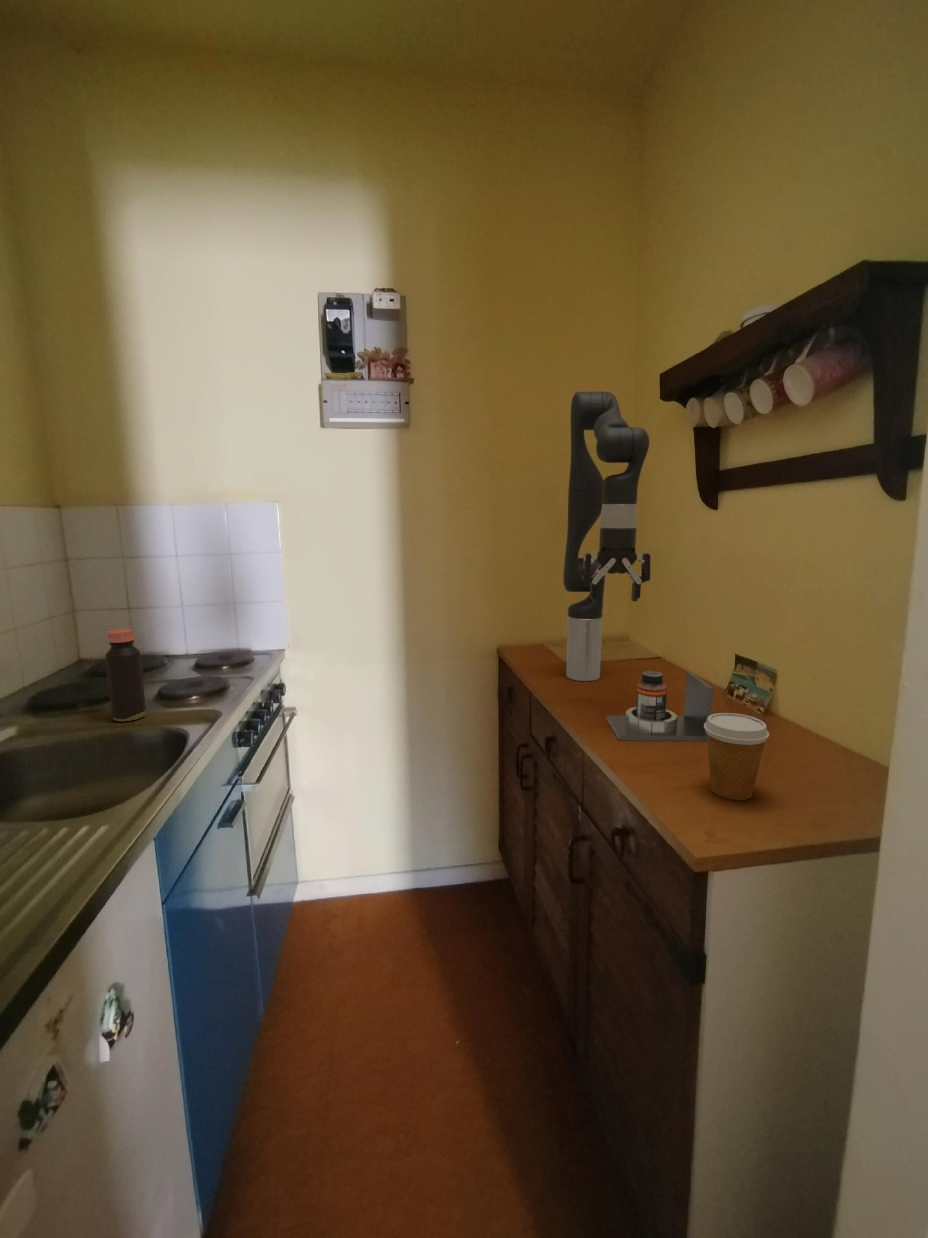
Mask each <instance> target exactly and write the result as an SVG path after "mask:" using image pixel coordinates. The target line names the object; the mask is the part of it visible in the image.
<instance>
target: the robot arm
mask: <svg viewBox="0 0 928 1238" xmlns="http://www.w3.org/2000/svg"><path fill="white" fill-rule="evenodd" d="M570 403H571V404H570V464H569V465H570V468H569V479H568V480H569V481H568V493H567V494H568V495H567V496H568V497H567V498H568V499H567V533H566V534H567V535H566V544H565V556H564V564H563V580H562V581H563V587H564V589H565V591H567V592H570V593H589V594H588V596H587V597H585V598H584V599H583V600H580V601H578V602H575V603H572V604H570V605H569V606H568V609H567V634H566V635H567V639H566V641H567V644H566V671H565V673H566V674H565V675H566V676H565V677H566V678H568V679H570V680H574V681H577V682H578V681H579V682H593V681H597V680H599V679H600V677H601V658H602V657H601V655H602V632H603V631H602V630H603V629H602V628H603V627H602V625H603V608H604V594H605V592H604V591H605V583H606V574H611V575H612V574H613V575H614V574H622V575H625V574H626V573H627V575H628V576H629V577H630V579H631V580H632V582H633V583H631V596H630V597H631V599H630V600H631V601H632V602H638V599H639V600H640V598H641V589H642V588H641V587H642V584H643V583H646V582H650V580H651V554H649V553H647V552H642V553H636V546H637V545H636V541H637V527H638V510H637V509H638V505H637V503H638V487H639V482H640V481H639V480H640V477H641V473H642V468H643V465H644V463H645V461H646V458H647V455H648V452H649V449H650V437H649V434H648V432H647V431H646V429H644V428H643V427H639V426H638V427H637V426H633V427H631V426H630V425H629V424H628V422H627V421H625V420H624V418H623V417H622V414H621V410H620V405H619V403H618V400H617V398H616V395H614V394H613V393H612V392H610V391H606V390H605V391H602V390H601V391H577V392H574V394H573V396H572V399H571V402H570ZM585 431H593V433H594V437H595V439H596V443H595V444H596V447H595V451H596V455H597V458H598V459H599V460H600V461H601V462H603V463H607V464H608V463H609V464H624V463H626V464H627V466H626V469H625V470H624V471H623V472H621V473H616V474H611V475H608V476H605V478H603V476H602V473H601V472H600V470H599V469H598V466H597V465H596V464H595V461H594V460H593V457H592V456H591V454H590V452H589V450H588V447H587V446H588V445H587V443H586V439H585V437H586V436H585ZM598 519H599V520H600V522H599V544H598V545H599V547H598V552H597V553H590V552H585V553H584V554H583V557H579V554H580V550H581V547H582V544H583V542H584V540H585V538H586V536H587V535H588V534H589V532H590V531H591V529H592V527H594V525H595V523H596V522H597V521H598ZM637 560H638V563H639V564H641V570H640V571H641V575H638V573H637V571H636V570H635V569H634V566H633V565H634V564H635V562H636V561H637Z"/></svg>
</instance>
